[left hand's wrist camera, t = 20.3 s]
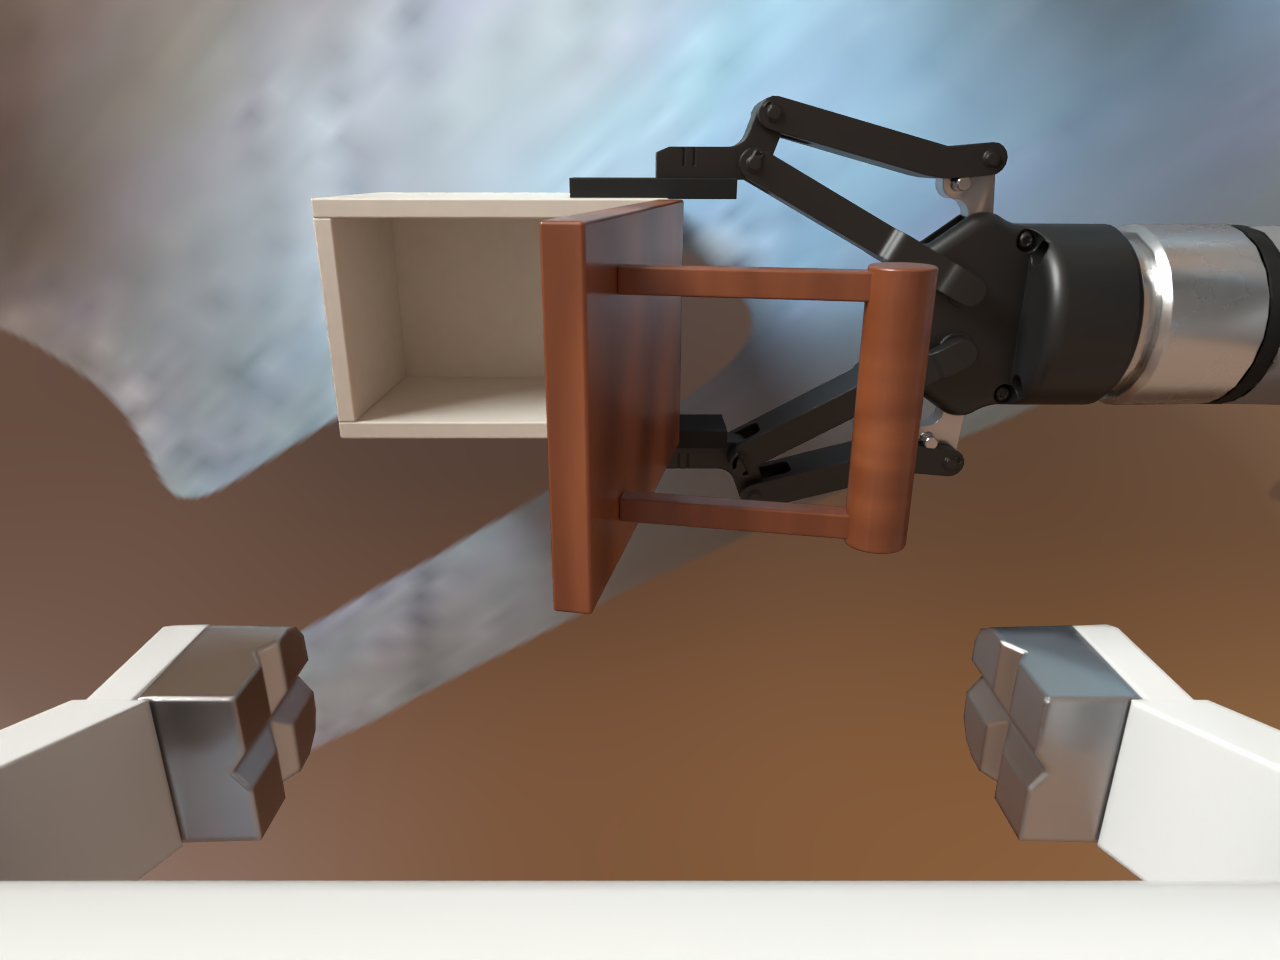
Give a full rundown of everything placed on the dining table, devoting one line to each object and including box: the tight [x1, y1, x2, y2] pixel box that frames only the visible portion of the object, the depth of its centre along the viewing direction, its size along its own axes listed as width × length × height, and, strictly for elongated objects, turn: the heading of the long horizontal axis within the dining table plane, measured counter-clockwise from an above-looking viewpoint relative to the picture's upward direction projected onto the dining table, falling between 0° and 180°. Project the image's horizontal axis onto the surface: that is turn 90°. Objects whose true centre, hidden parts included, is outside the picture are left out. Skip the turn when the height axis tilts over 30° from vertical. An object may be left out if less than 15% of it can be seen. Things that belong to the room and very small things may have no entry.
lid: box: [539, 199, 939, 614], centre depth 26 cm, size 15×10×9 cm
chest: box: [311, 192, 668, 438], centre depth 38 cm, size 14×10×9 cm
